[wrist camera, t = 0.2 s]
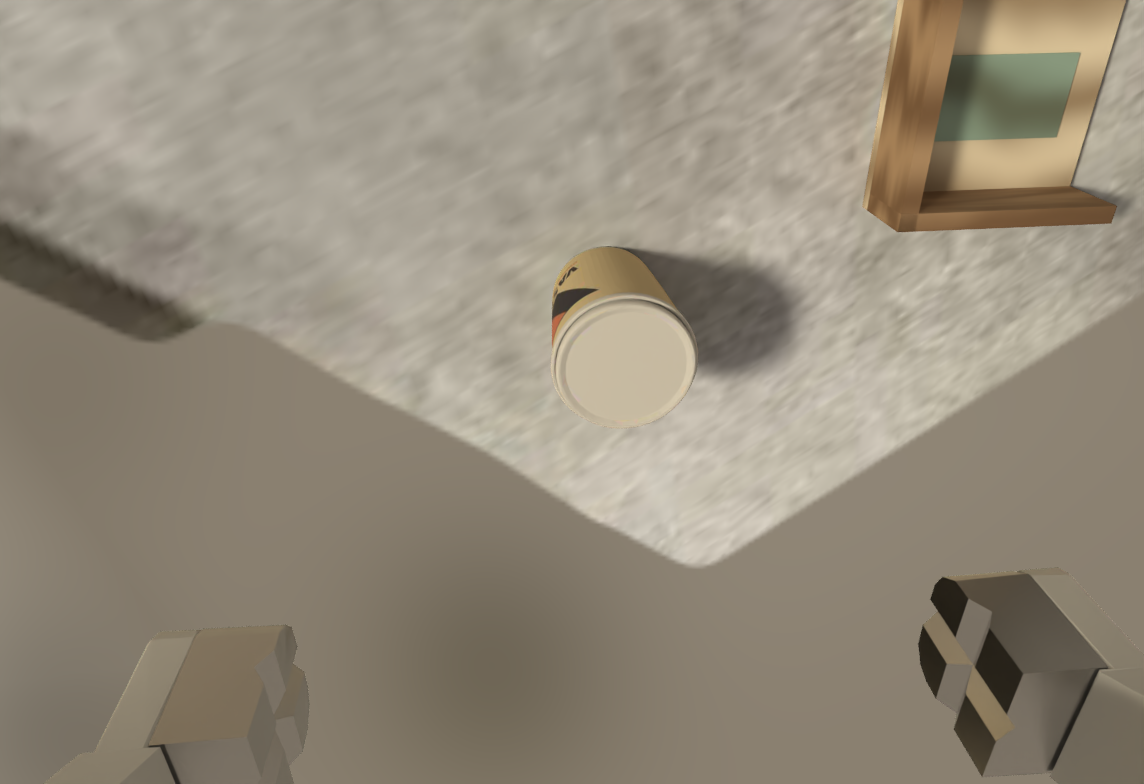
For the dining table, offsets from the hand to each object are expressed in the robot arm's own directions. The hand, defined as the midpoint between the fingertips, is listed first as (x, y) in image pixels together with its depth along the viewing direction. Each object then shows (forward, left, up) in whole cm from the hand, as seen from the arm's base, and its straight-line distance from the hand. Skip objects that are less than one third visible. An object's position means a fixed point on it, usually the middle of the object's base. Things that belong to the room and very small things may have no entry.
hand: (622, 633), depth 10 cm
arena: (+2, +32, -48) cm, 57 cm away
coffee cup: (+16, +6, -48) cm, 51 cm away
